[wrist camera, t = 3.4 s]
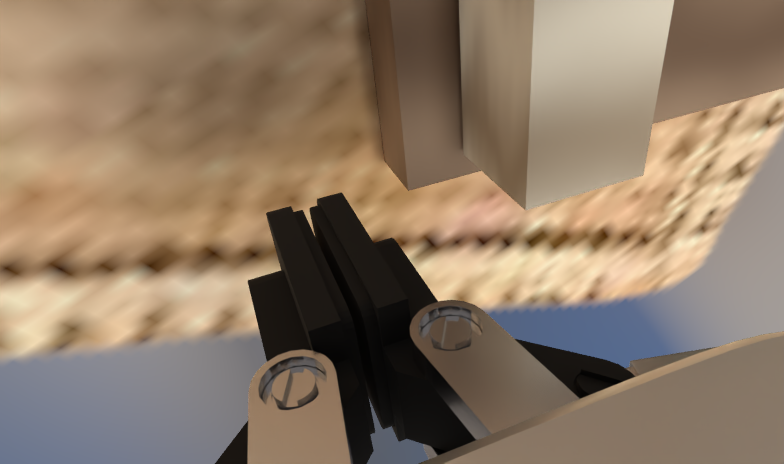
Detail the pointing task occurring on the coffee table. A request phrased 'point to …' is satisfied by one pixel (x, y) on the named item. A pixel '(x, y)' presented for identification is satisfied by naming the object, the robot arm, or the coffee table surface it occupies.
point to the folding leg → (560, 91)
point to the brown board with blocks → (443, 73)
